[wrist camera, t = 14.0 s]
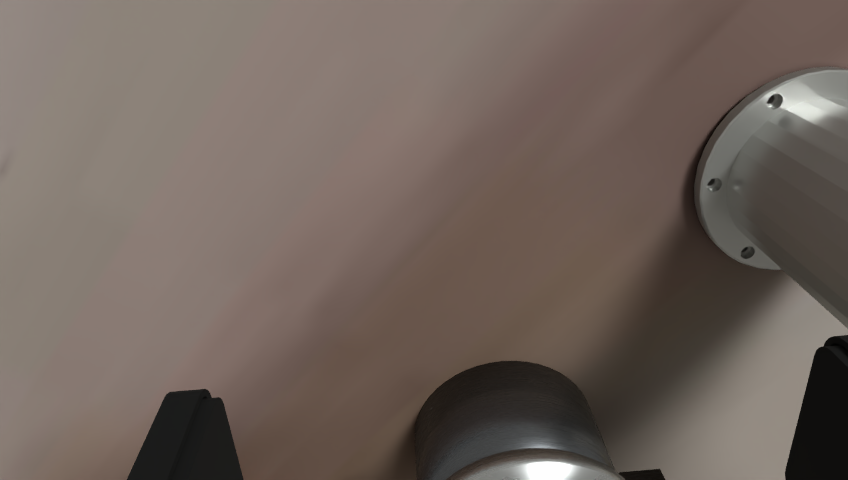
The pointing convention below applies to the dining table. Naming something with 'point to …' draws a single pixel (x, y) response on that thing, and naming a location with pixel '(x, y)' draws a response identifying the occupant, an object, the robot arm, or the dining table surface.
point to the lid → (539, 467)
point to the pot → (506, 420)
